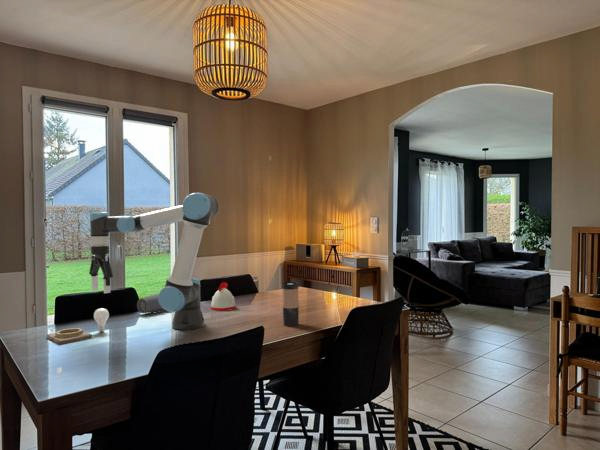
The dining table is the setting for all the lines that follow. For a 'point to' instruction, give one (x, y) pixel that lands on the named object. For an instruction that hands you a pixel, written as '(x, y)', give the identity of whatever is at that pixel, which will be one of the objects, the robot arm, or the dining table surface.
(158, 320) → the dining table surface
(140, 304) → the bluetooth speaker
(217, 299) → the white dome
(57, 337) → the socket
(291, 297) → the travel mug
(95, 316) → the lightbulb
